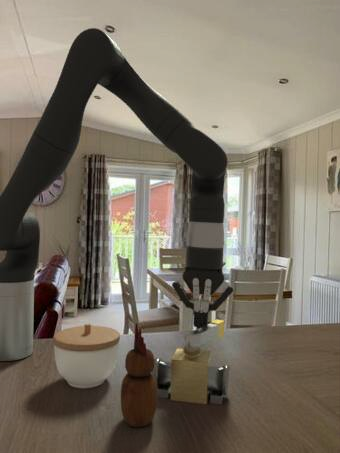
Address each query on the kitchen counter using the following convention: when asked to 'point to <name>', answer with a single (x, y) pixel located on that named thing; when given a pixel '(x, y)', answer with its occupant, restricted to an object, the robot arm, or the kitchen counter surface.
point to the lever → (202, 337)
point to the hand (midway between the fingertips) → (200, 329)
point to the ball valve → (191, 378)
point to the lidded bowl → (86, 354)
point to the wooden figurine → (139, 384)
